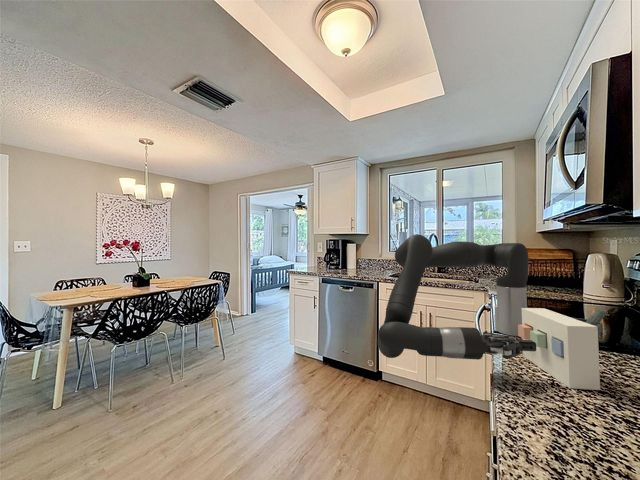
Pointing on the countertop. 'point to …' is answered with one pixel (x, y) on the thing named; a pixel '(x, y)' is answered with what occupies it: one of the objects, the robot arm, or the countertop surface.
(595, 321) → the mortar and pestle
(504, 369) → the countertop surface
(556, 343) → the blue button
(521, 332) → the terracotta button
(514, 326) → the robot arm
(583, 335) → the control box
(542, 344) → the sage button
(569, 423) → the countertop surface
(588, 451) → the countertop surface
